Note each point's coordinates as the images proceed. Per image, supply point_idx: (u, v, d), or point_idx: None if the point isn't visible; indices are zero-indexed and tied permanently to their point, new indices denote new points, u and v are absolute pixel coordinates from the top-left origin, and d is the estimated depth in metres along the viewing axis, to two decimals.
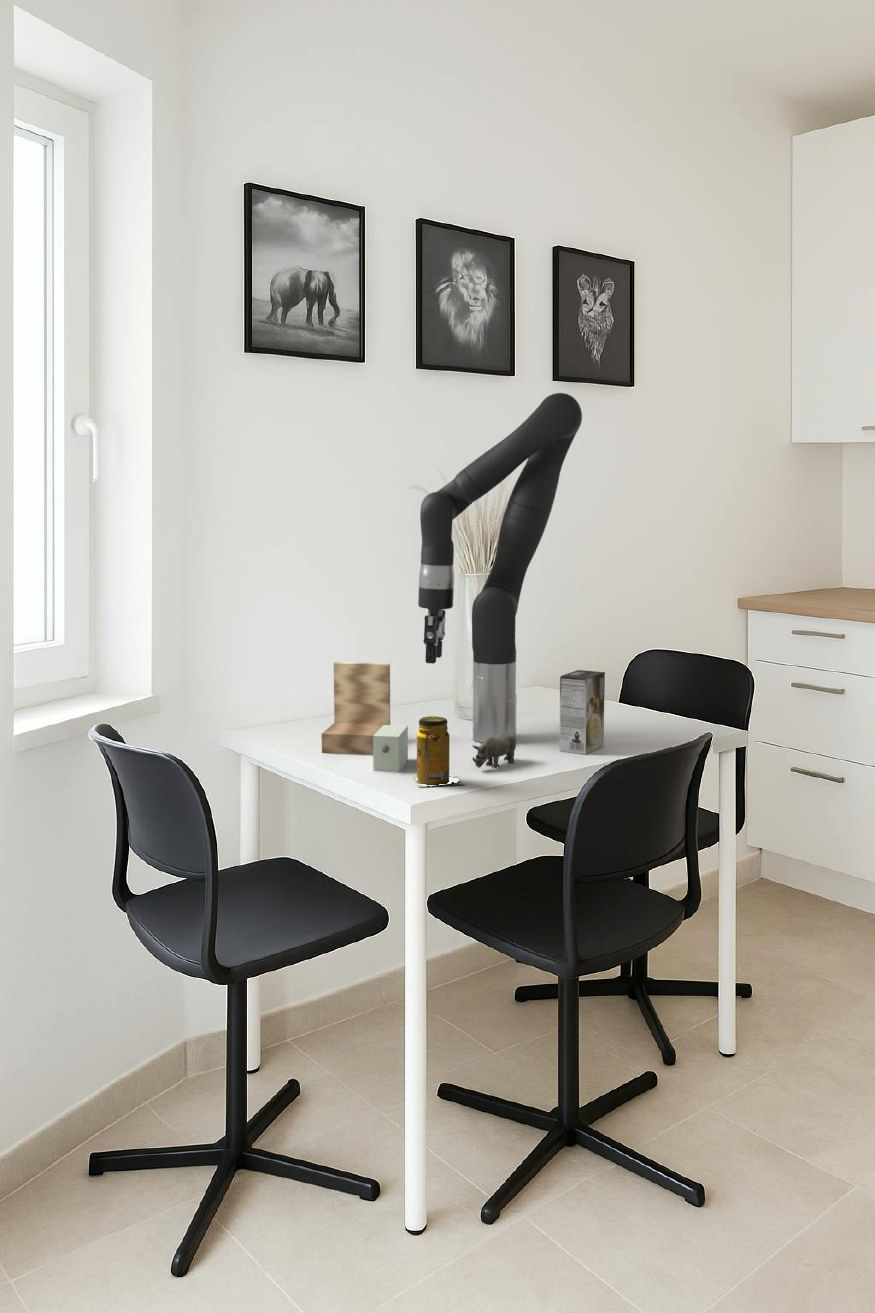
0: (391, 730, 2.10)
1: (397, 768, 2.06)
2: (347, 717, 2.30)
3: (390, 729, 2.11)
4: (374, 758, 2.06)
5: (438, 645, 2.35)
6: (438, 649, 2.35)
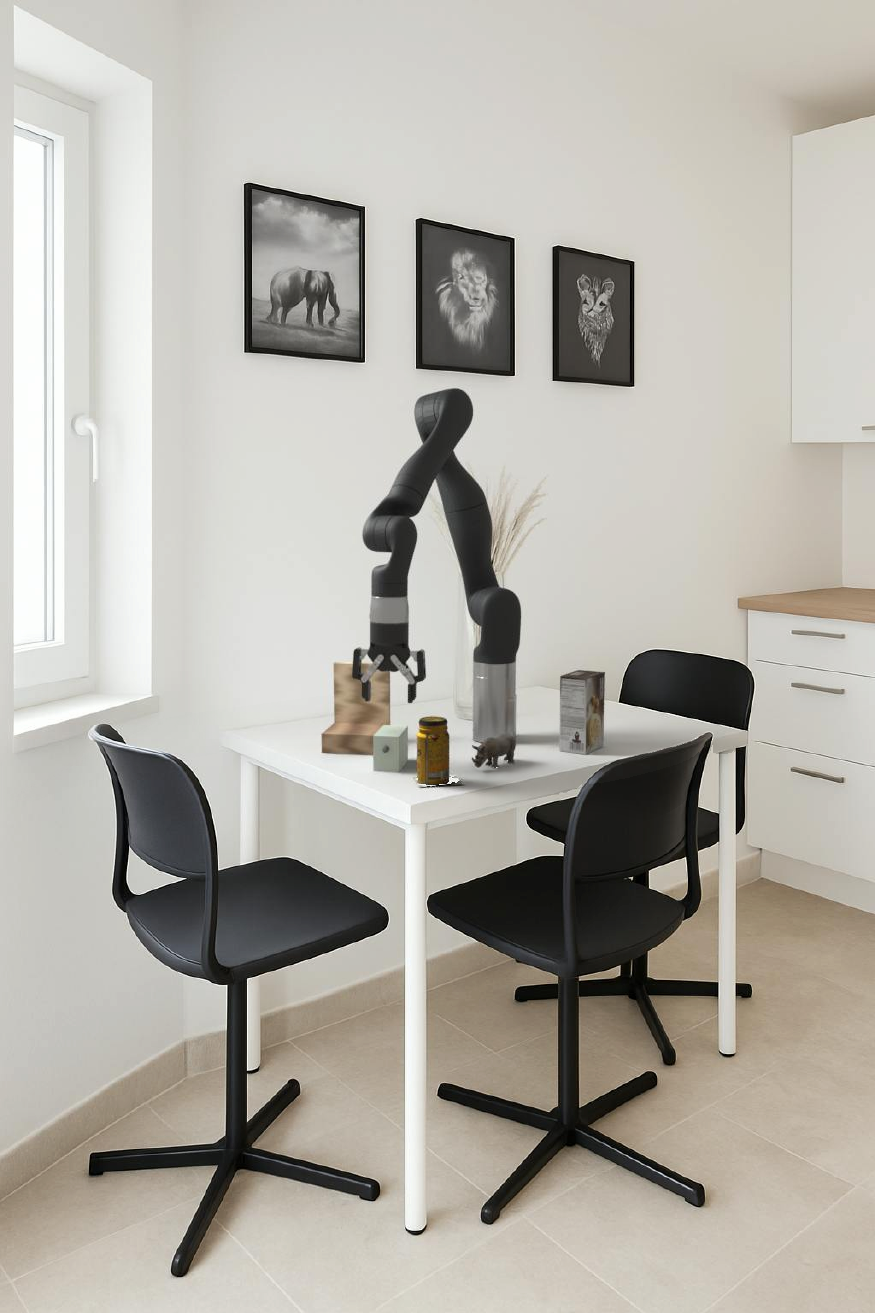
0: (391, 730, 2.10)
1: (397, 768, 2.06)
2: (347, 717, 2.30)
3: (390, 729, 2.11)
4: (374, 758, 2.06)
5: (369, 687, 2.10)
6: (369, 691, 2.10)
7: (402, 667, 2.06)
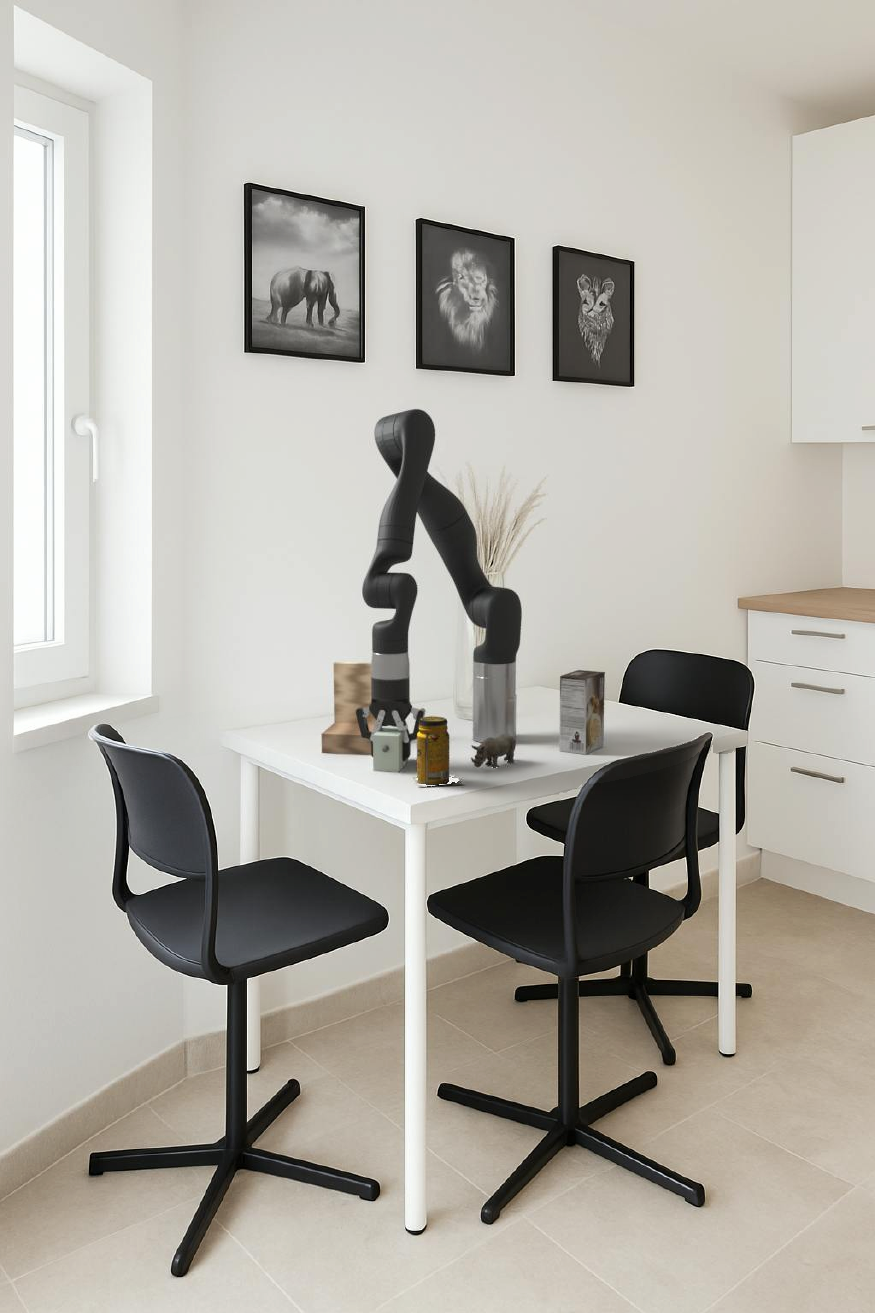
0: (391, 729, 2.10)
1: (397, 767, 2.06)
2: (347, 717, 2.30)
3: (390, 728, 2.11)
4: (374, 757, 2.06)
5: None
6: None
7: (400, 724, 2.08)
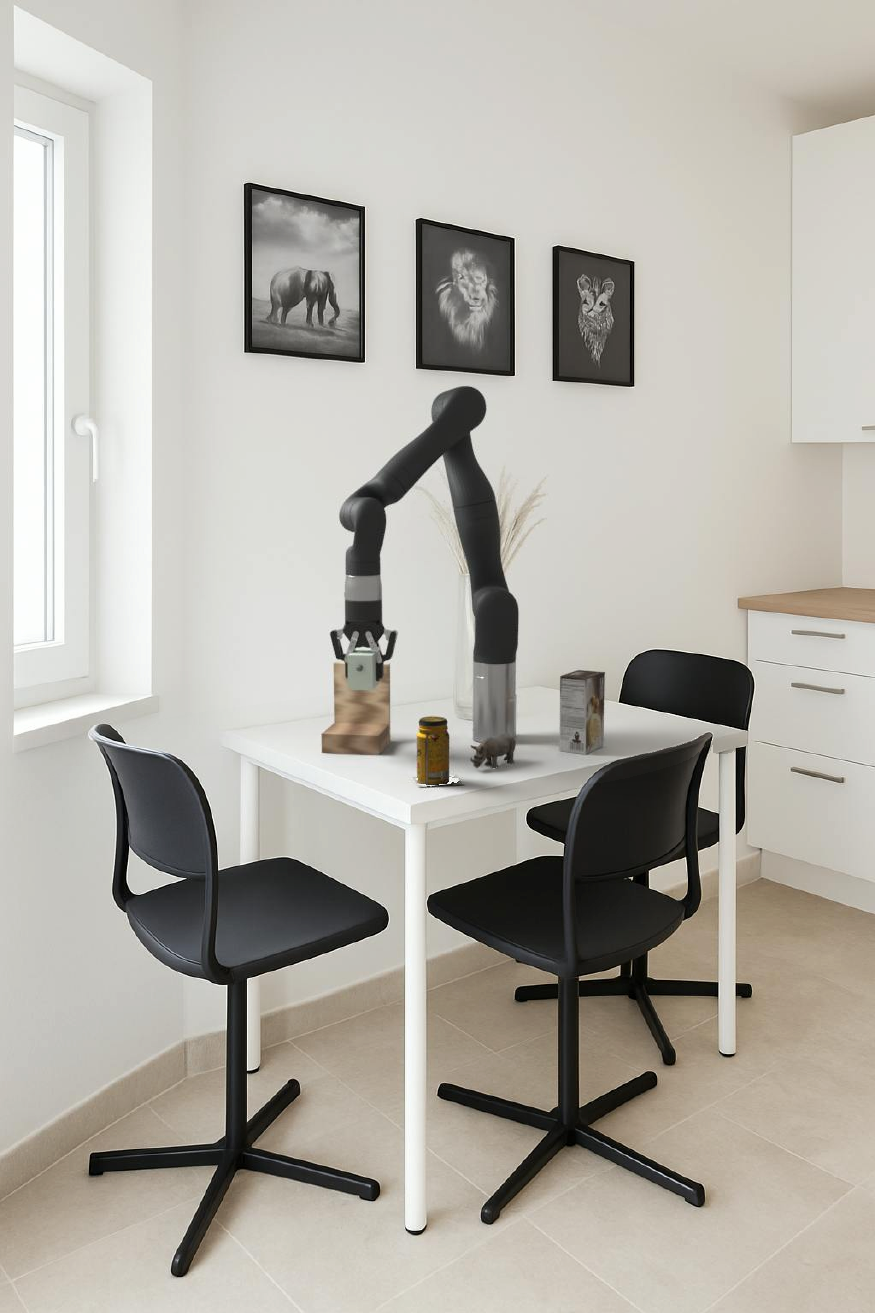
0: (365, 651, 2.17)
1: (371, 686, 2.13)
2: (347, 717, 2.30)
3: (363, 650, 2.18)
4: (348, 677, 2.13)
5: None
6: None
7: (373, 645, 2.15)
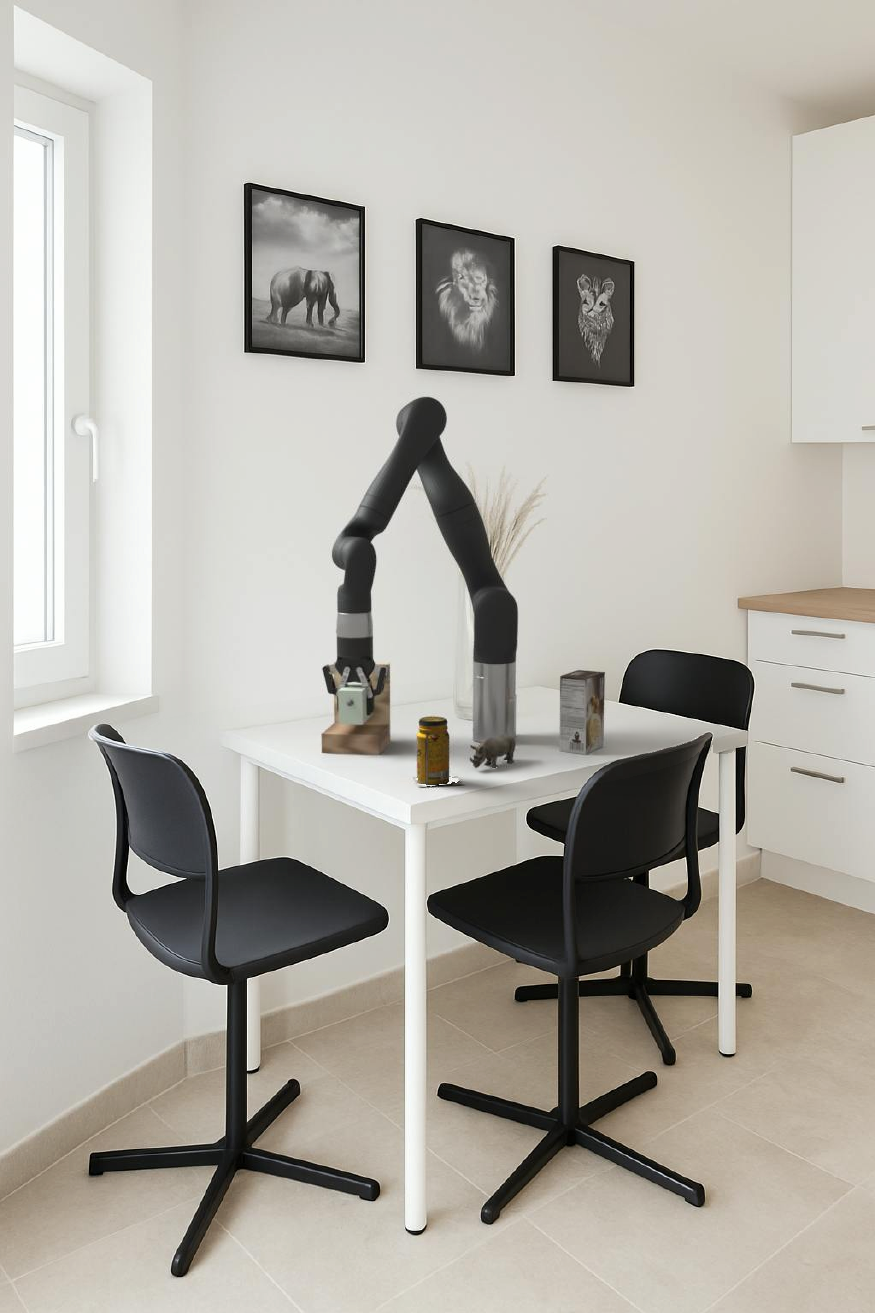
0: (356, 686, 2.23)
1: (361, 721, 2.18)
2: None
3: (355, 685, 2.24)
4: (339, 711, 2.19)
5: None
6: None
7: (364, 680, 2.20)
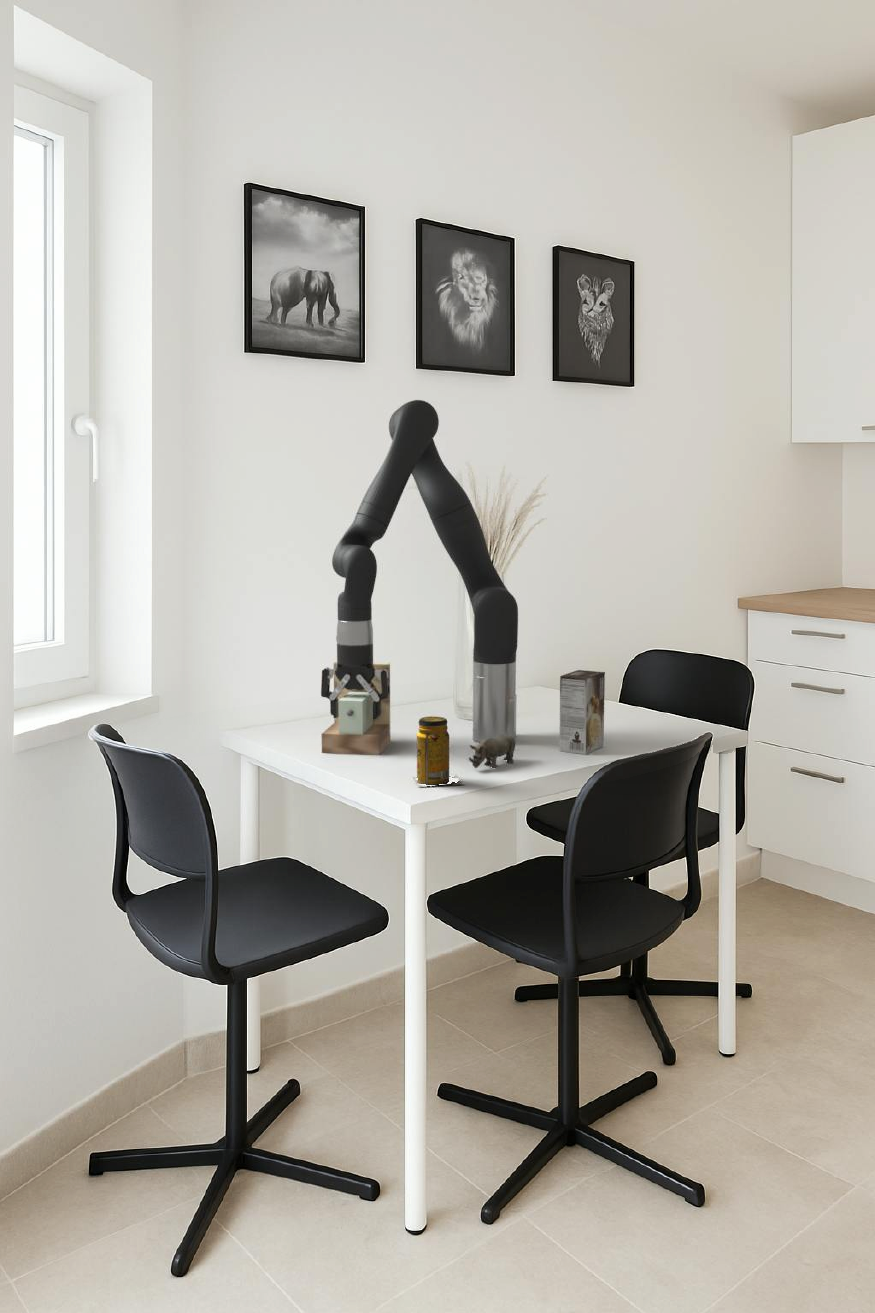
0: (356, 696, 2.24)
1: (361, 731, 2.19)
2: None
3: (355, 695, 2.25)
4: (339, 721, 2.20)
5: (337, 704, 2.25)
6: (338, 708, 2.25)
7: (367, 686, 2.21)
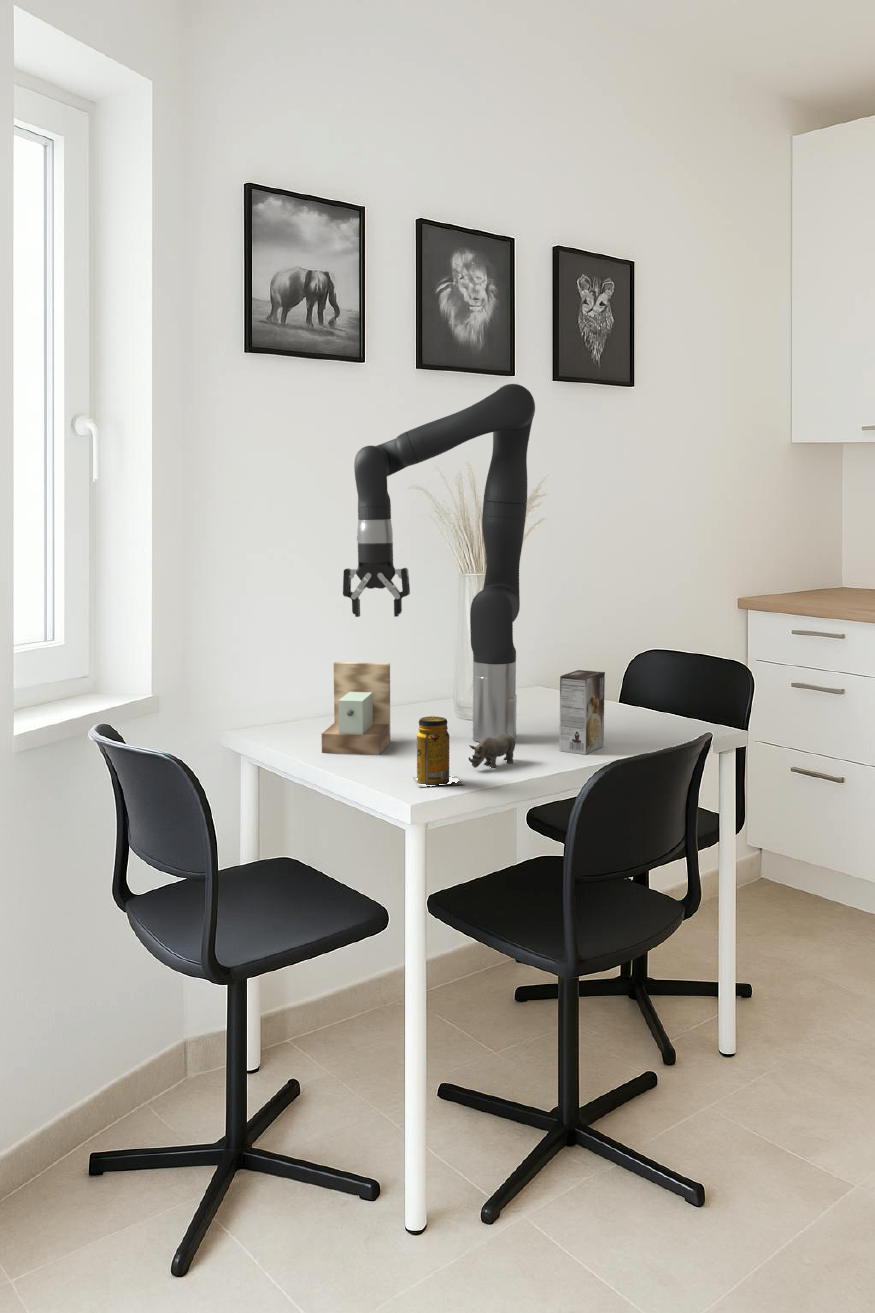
0: (356, 696, 2.24)
1: (361, 731, 2.19)
2: None
3: (355, 695, 2.25)
4: (339, 721, 2.20)
5: (359, 603, 2.31)
6: (359, 607, 2.31)
7: (388, 583, 2.28)
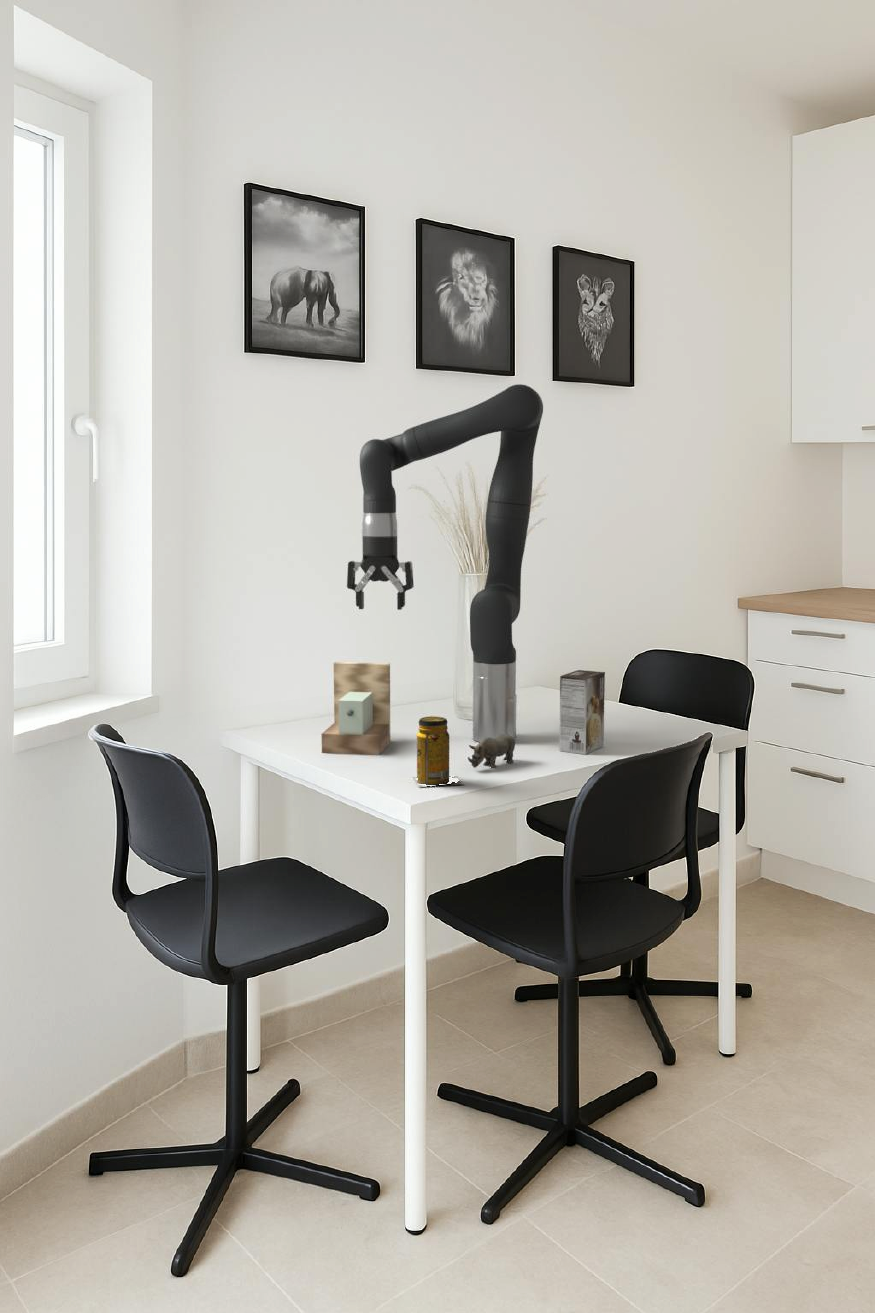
0: (356, 696, 2.24)
1: (361, 731, 2.19)
2: None
3: (355, 695, 2.25)
4: (339, 721, 2.20)
5: (363, 596, 2.33)
6: (363, 600, 2.33)
7: (392, 577, 2.29)
